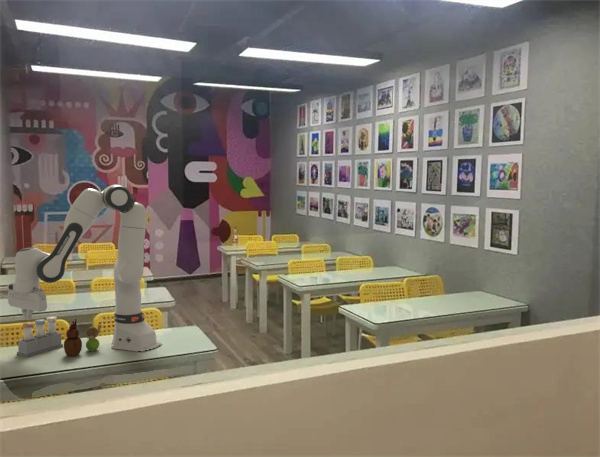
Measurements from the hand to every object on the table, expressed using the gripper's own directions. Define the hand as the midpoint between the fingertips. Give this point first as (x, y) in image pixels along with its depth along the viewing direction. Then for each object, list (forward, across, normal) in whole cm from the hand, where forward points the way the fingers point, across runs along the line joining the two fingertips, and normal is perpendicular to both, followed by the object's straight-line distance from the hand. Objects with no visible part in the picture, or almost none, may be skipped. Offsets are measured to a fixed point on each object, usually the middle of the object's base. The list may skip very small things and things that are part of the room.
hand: (27, 319), depth 214 cm
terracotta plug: (+10, 0, 0) cm, 10 cm away
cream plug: (+10, 0, -11) cm, 15 cm away
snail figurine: (+15, -19, -17) cm, 30 cm away
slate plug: (+10, 0, -6) cm, 11 cm away
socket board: (+15, 0, -6) cm, 16 cm away
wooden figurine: (+15, -17, -8) cm, 24 cm away
